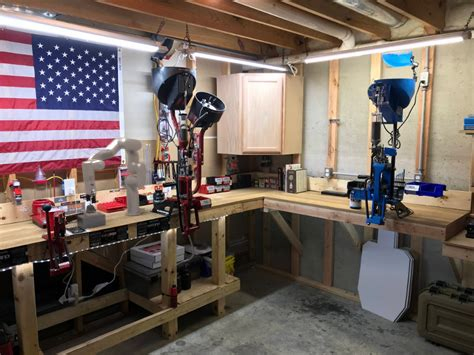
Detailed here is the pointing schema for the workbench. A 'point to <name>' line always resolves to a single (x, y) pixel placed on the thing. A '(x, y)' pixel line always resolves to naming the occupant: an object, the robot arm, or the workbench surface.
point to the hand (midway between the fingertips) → (91, 202)
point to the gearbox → (91, 220)
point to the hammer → (74, 216)
